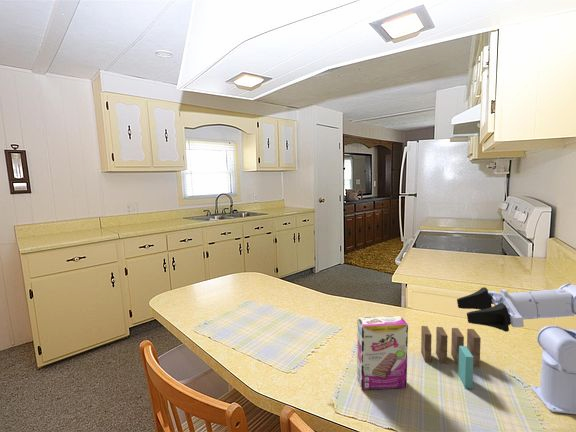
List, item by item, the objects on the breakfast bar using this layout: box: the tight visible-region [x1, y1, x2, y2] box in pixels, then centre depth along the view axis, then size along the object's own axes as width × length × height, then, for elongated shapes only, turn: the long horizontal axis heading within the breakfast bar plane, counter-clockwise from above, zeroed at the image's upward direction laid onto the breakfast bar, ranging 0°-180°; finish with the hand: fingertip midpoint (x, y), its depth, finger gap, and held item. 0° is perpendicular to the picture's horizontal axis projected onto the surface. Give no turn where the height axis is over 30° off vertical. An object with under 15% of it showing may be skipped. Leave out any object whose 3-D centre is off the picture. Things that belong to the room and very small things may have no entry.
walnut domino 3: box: [450, 327, 465, 366], centre depth 86 cm, size 2×5×8 cm, turn 168°
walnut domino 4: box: [466, 328, 481, 368], centre depth 85 cm, size 2×5×8 cm, turn 168°
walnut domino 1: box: [420, 325, 432, 363], centre depth 88 cm, size 2×5×8 cm, turn 167°
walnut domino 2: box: [435, 326, 448, 365], centre depth 87 cm, size 2×5×8 cm, turn 168°
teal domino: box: [457, 345, 474, 389], centre depth 77 cm, size 2×5×8 cm, turn 168°
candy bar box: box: [356, 315, 409, 391], centre depth 77 cm, size 11×5×16 cm, turn 92°
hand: (462, 310), depth 72 cm, fingers open, 7 cm apart
